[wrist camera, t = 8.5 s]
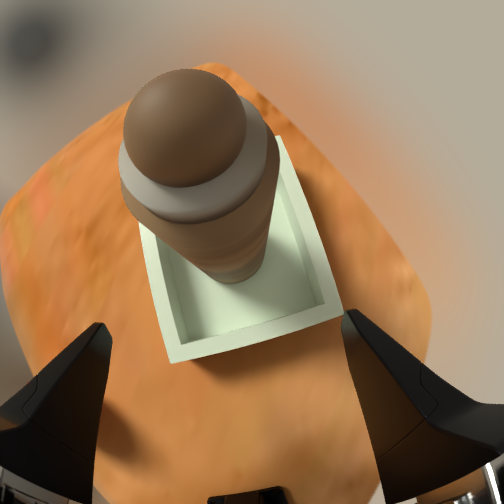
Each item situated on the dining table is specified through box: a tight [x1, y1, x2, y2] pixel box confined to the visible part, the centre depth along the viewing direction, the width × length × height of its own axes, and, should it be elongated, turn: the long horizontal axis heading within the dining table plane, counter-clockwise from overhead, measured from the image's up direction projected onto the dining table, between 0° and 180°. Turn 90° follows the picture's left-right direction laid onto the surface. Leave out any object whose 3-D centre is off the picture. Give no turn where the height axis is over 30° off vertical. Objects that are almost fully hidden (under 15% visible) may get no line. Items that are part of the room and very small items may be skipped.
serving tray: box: [139, 136, 344, 364], centre depth 18 cm, size 13×11×4 cm
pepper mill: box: [118, 69, 280, 284], centre depth 12 cm, size 5×5×15 cm
